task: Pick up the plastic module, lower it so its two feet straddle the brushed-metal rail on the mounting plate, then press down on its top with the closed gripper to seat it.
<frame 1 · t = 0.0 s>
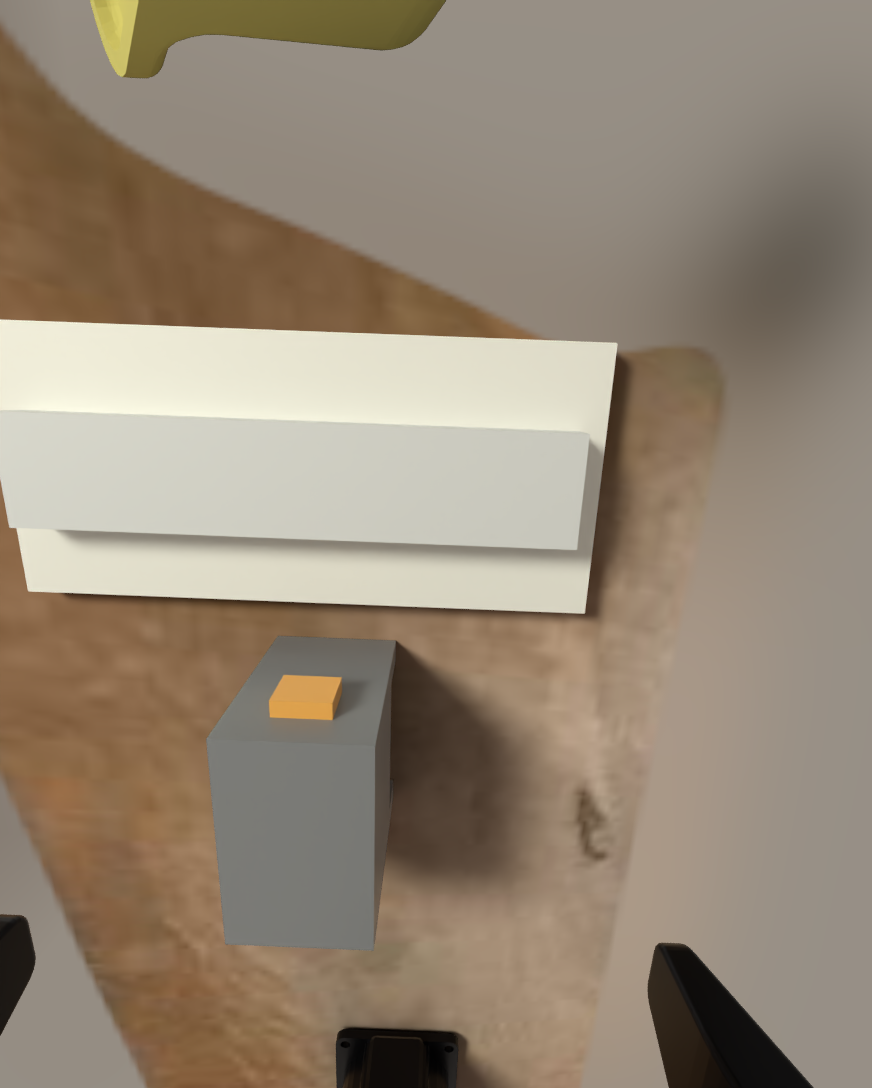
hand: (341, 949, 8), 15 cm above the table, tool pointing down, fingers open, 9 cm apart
din module: (338, 720, 23), on the table
rail plate: (308, 472, 20), on the table
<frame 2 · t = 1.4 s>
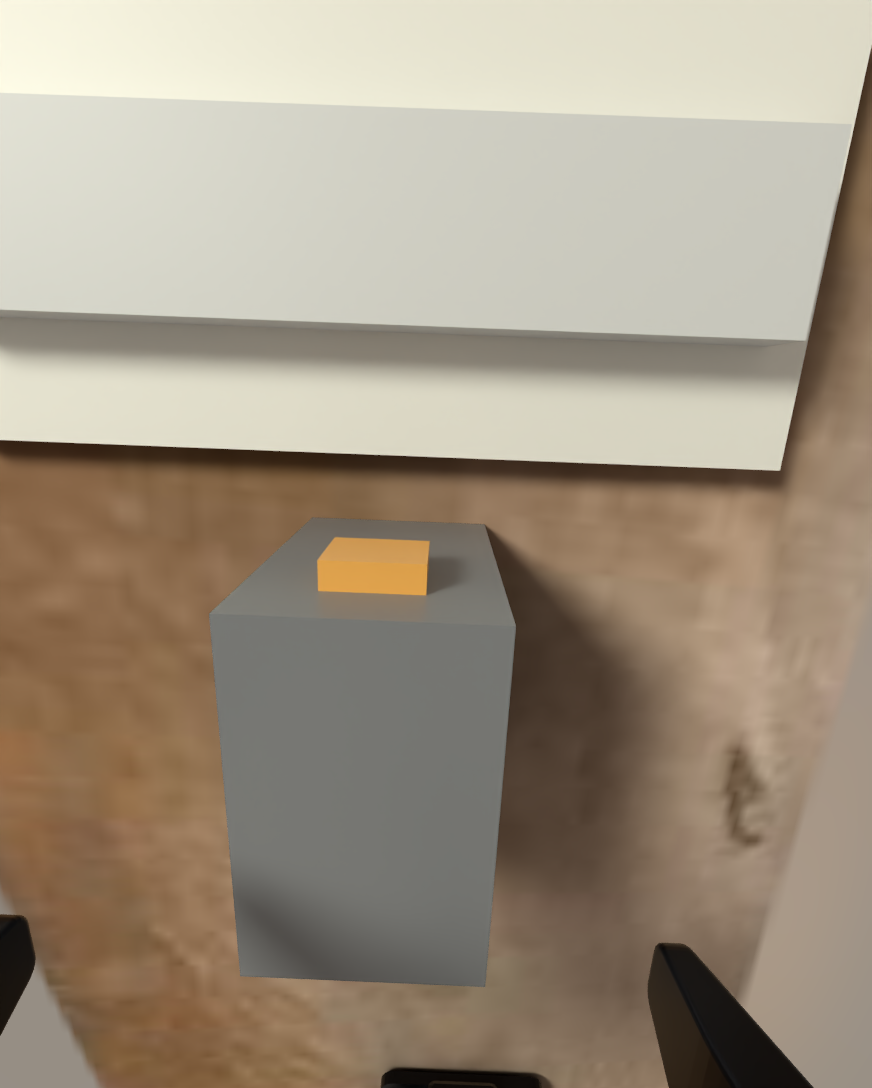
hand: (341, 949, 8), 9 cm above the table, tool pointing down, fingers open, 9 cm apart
din module: (396, 646, 16), on the table
rail plate: (363, 251, 13), on the table
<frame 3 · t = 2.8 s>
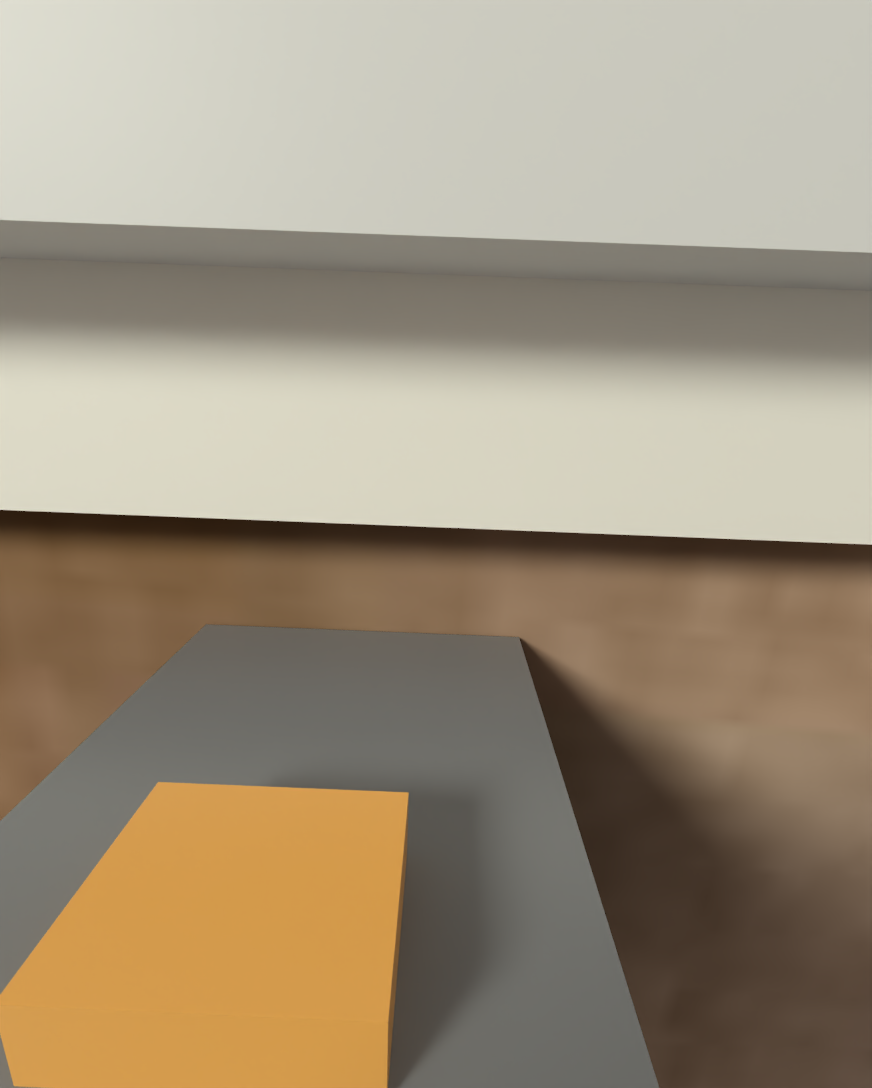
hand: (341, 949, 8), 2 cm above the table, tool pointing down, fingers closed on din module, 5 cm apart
din module: (362, 834, 9), on the table, touching gripper
rail plate: (280, 108, 7), on the table
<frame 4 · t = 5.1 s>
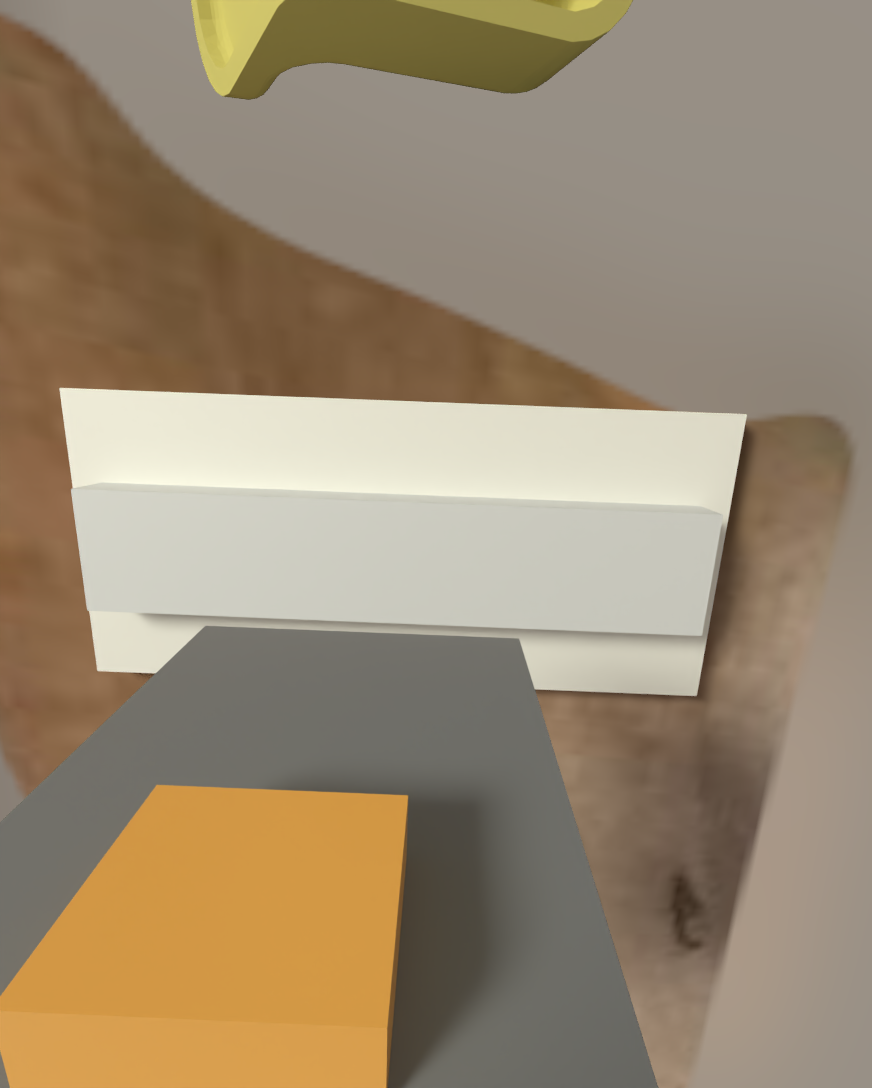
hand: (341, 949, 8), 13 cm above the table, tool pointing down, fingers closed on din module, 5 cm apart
din module: (362, 836, 9), point 11 cm above the table, touching gripper
rail plate: (400, 544, 19), on the table
when the fingers open (4 cm above the table, at t = 7.7 s): din module stays where it is, resting on rail plate.
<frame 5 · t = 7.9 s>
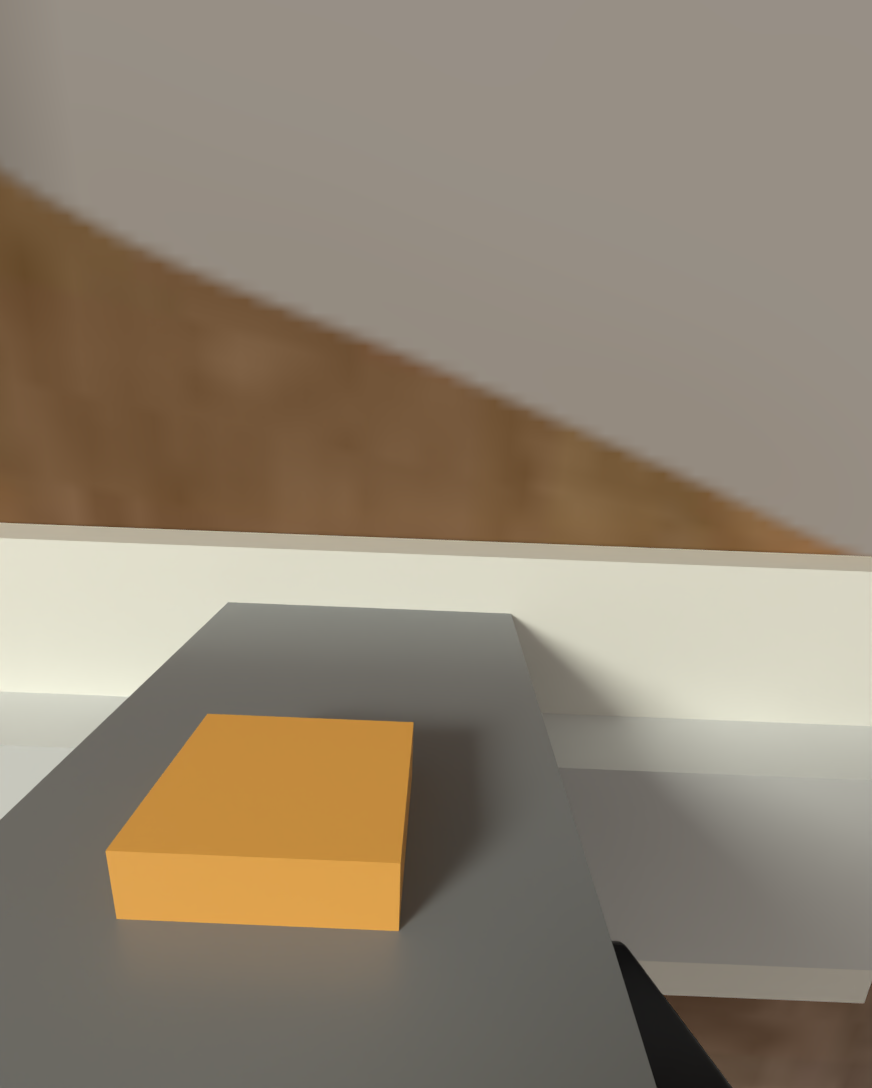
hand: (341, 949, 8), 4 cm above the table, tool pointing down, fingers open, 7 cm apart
din module: (368, 796, 10), point 1 cm above the table, touching rail plate
rail plate: (375, 761, 11), on the table
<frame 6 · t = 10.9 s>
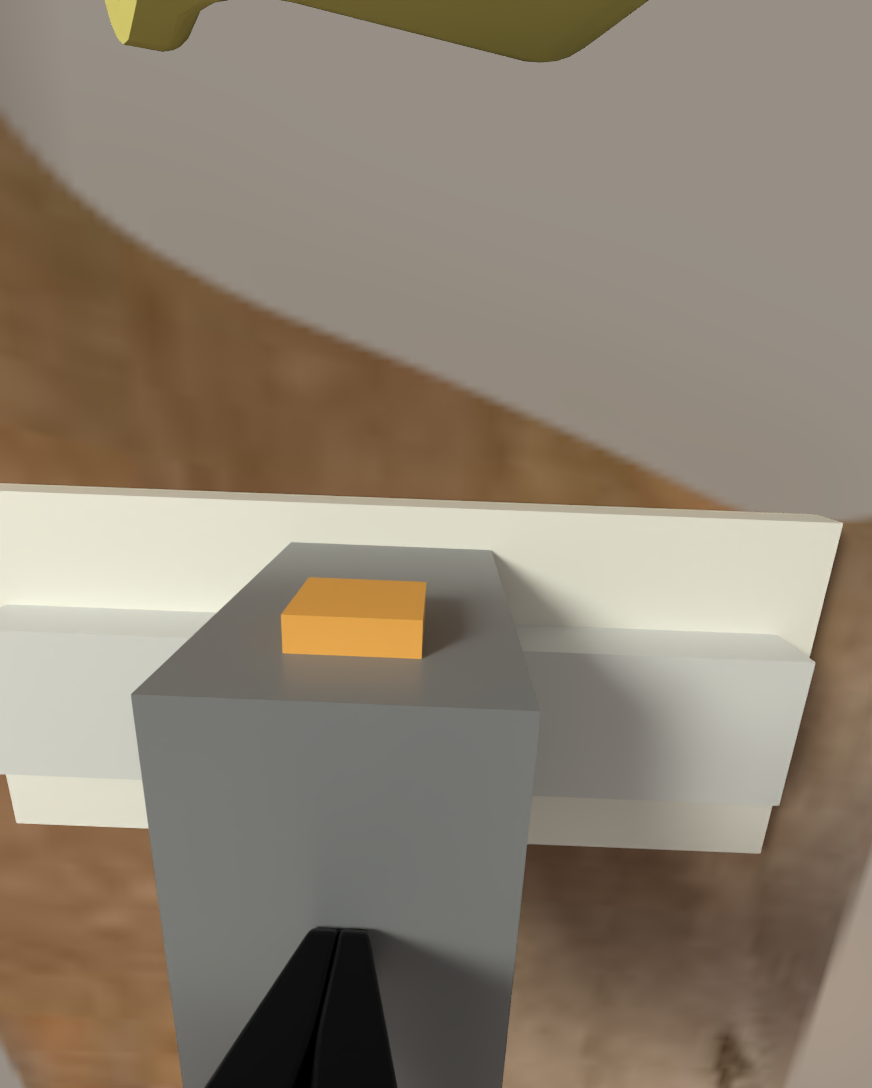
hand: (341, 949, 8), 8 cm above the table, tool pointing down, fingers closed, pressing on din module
din module: (388, 688, 14), point 1 cm above the table, touching gripper, rail plate
rail plate: (392, 669, 15), on the table
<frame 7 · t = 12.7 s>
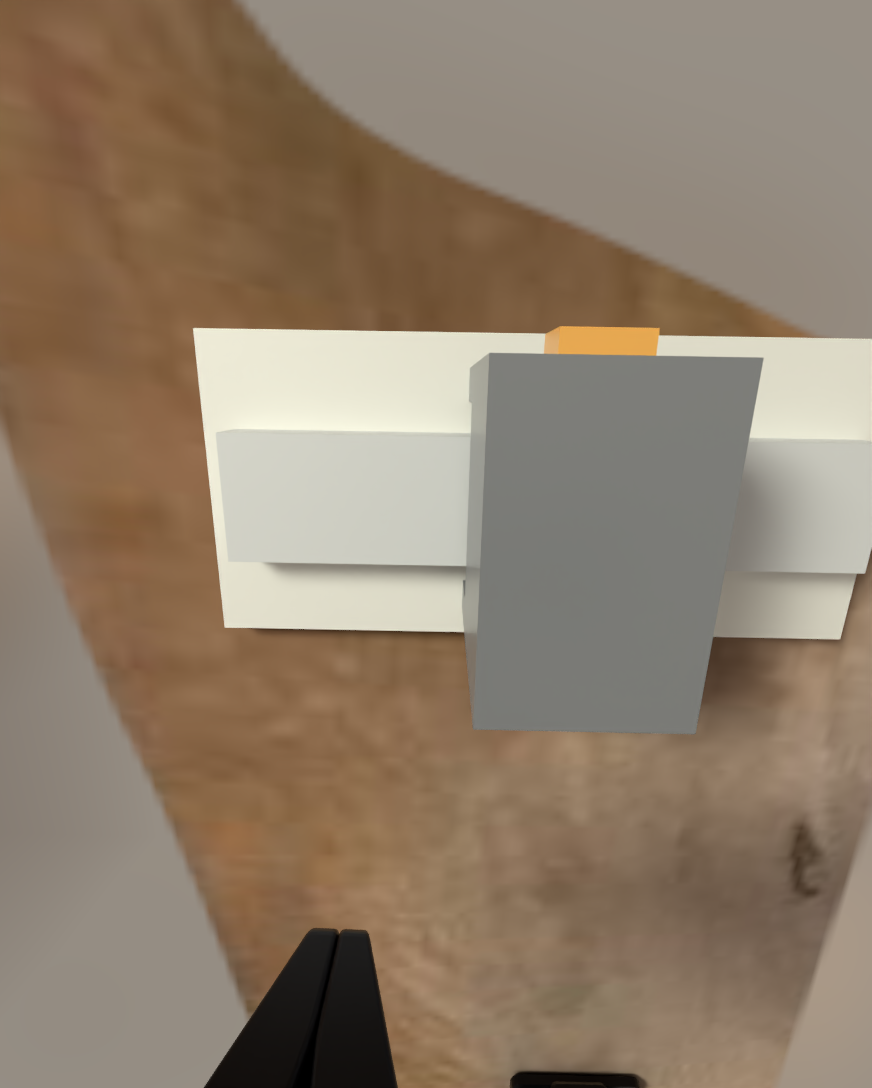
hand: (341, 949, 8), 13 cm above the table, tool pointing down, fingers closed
din module: (541, 496, 17), point 1 cm above the table, touching rail plate
rail plate: (536, 490, 18), on the table
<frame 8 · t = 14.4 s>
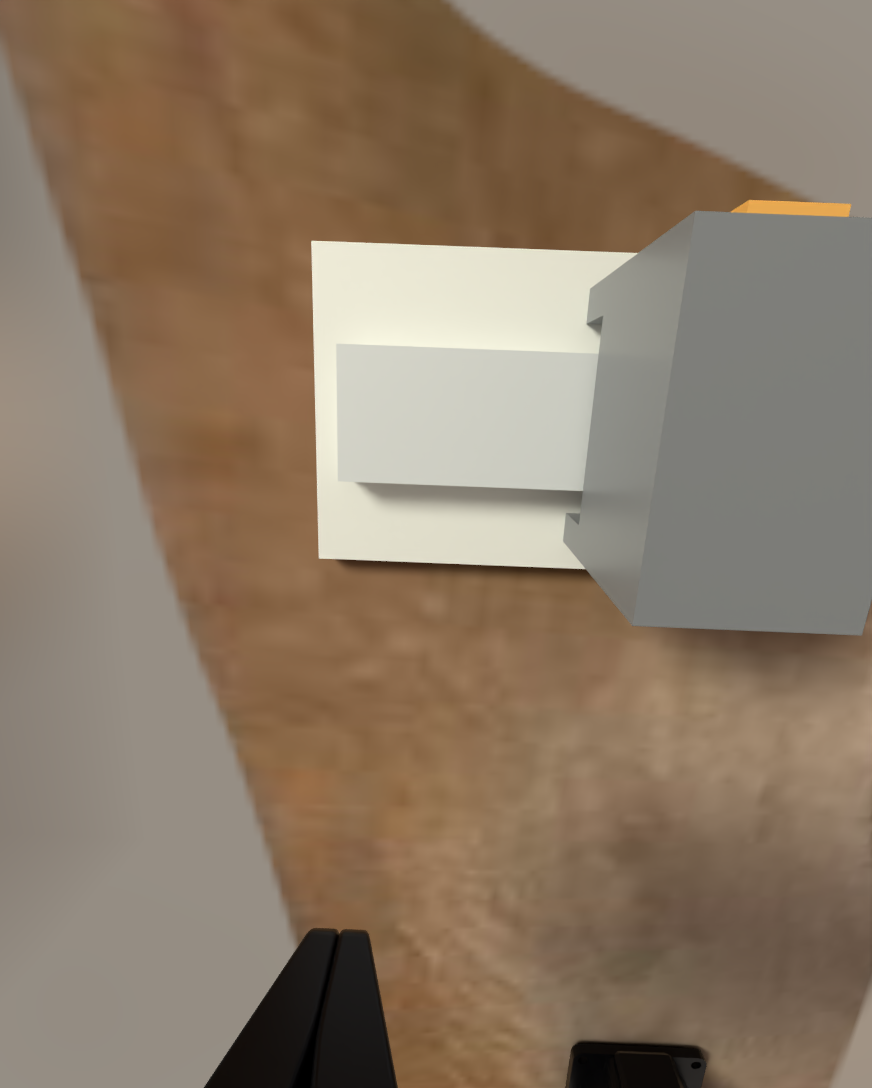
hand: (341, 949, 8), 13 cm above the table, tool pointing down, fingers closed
din module: (652, 425, 17), point 1 cm above the table, touching rail plate
rail plate: (641, 423, 18), on the table
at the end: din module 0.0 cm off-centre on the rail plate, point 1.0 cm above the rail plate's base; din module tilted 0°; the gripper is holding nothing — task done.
